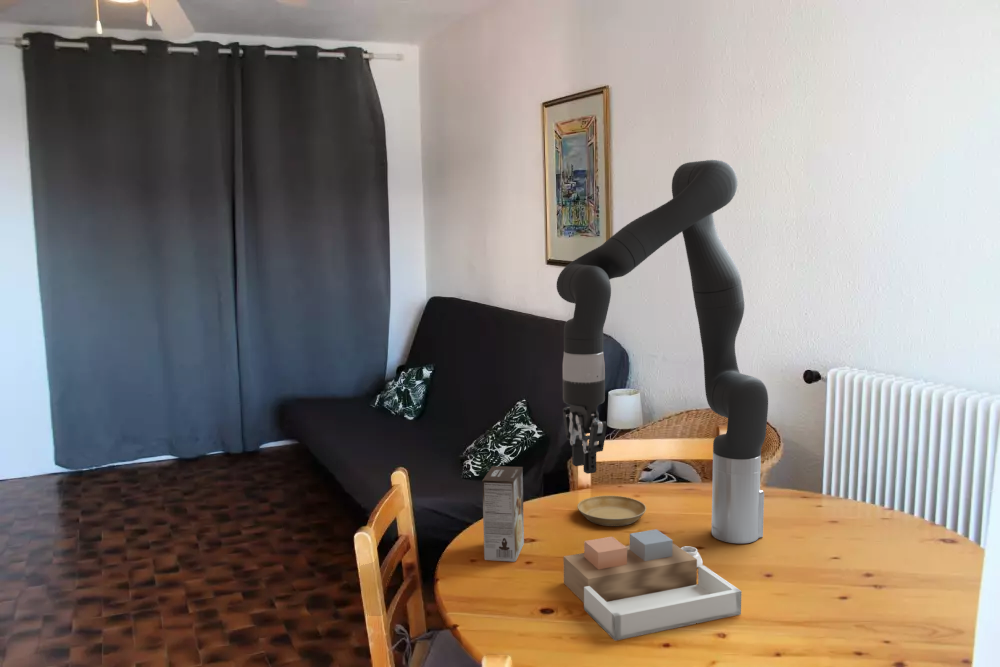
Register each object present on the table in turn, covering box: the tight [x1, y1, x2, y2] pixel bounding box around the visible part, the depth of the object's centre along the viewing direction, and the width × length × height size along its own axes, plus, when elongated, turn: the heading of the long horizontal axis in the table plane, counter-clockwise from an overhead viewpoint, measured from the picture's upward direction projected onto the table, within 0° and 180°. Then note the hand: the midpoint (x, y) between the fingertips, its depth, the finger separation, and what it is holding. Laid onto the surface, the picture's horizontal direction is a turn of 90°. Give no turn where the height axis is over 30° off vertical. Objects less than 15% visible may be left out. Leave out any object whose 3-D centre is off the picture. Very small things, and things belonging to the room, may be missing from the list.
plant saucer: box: [577, 495, 647, 527], centre depth 182 cm, size 15×15×3 cm
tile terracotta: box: [583, 536, 627, 569], centre depth 147 cm, size 6×6×3 cm
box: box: [583, 564, 743, 641], centre depth 138 cm, size 23×11×4 cm, turn 110°
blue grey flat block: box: [629, 528, 674, 561], centre depth 150 cm, size 6×6×3 cm
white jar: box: [680, 545, 704, 568], centre depth 157 cm, size 5×3×5 cm
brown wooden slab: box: [563, 542, 698, 604], centre depth 149 cm, size 21×10×5 cm, turn 110°
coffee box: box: [481, 465, 525, 563], centre depth 163 cm, size 9×6×16 cm
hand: (584, 468), depth 153 cm, fingers open, 4 cm apart
